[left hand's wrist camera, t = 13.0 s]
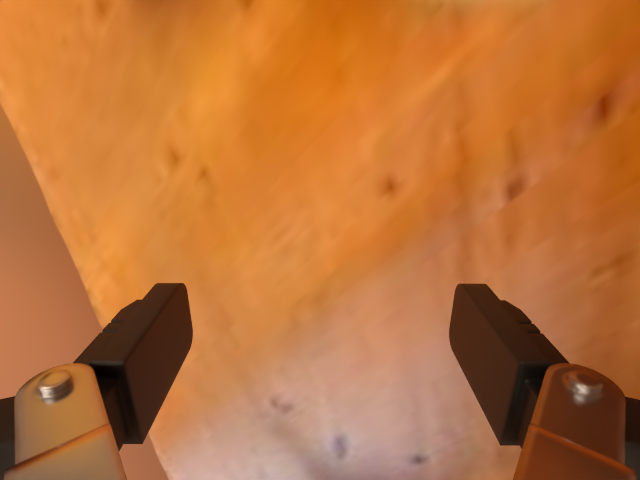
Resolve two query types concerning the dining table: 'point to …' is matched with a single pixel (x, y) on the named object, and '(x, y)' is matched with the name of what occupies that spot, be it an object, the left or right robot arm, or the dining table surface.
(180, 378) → the dining table surface
